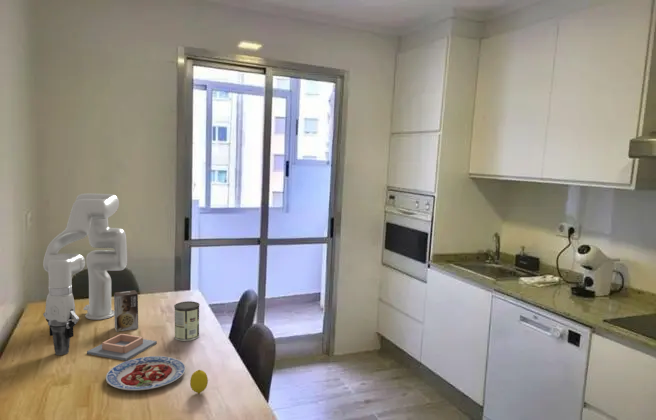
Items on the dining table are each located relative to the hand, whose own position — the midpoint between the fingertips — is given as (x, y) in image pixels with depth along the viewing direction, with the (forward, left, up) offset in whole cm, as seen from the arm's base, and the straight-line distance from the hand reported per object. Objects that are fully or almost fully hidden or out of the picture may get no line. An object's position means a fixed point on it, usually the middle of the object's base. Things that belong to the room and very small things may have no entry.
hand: (61, 335), depth 177 cm
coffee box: (+4, +31, -7) cm, 32 cm away
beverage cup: (0, 0, -7) cm, 7 cm away
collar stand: (+18, +12, -7) cm, 23 cm away
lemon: (+65, -9, -7) cm, 66 cm away
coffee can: (+34, +32, -7) cm, 47 cm away
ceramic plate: (+42, -5, -7) cm, 43 cm away
